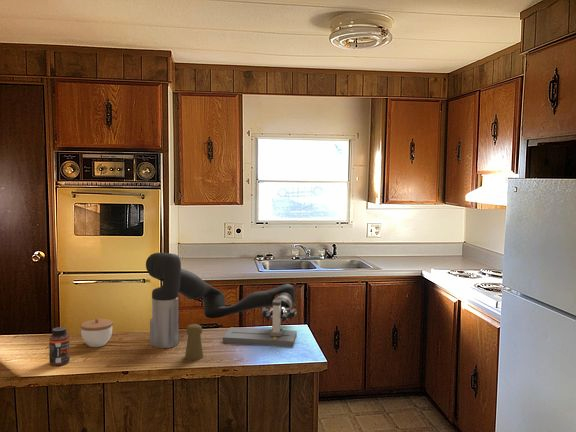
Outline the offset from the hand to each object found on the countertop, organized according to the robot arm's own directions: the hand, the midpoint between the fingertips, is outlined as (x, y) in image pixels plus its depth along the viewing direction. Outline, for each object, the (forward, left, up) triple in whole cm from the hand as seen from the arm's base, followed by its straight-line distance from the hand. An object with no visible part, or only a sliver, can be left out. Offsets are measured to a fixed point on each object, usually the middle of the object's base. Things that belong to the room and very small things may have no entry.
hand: (275, 318), depth 176 cm
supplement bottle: (-66, -30, -9) cm, 73 cm away
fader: (0, +3, -7) cm, 7 cm away
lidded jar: (-63, -12, -9) cm, 65 cm away
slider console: (-6, +3, -9) cm, 11 cm away
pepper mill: (-25, -18, -9) cm, 32 cm away
